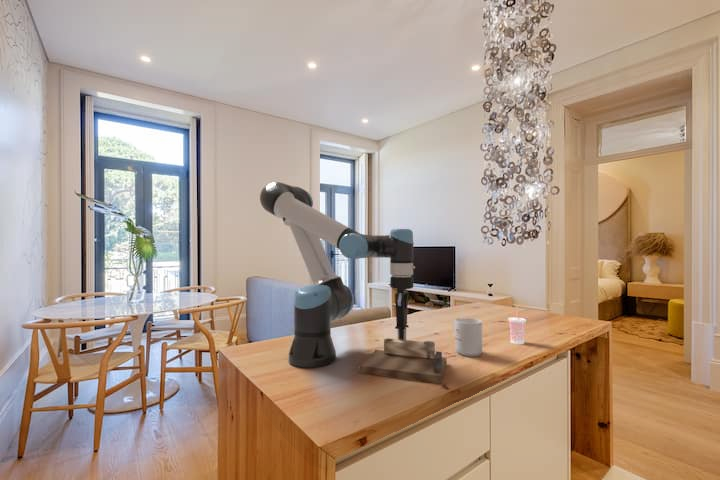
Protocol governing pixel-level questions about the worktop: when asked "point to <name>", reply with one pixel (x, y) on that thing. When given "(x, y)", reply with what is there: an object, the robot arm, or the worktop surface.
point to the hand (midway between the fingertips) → (402, 348)
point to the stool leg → (409, 348)
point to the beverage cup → (517, 329)
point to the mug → (468, 336)
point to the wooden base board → (405, 366)
